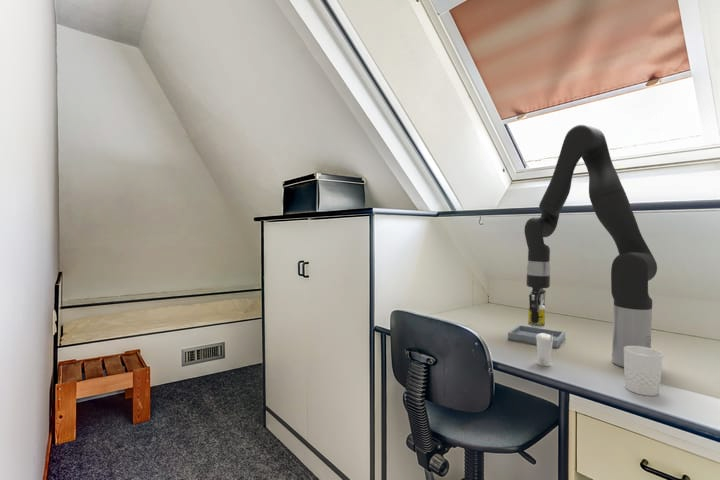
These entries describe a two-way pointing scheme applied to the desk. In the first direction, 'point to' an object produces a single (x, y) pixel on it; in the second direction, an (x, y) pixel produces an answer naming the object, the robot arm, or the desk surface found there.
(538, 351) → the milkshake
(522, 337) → the tray
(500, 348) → the desk surface
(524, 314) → the desk surface
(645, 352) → the white cup
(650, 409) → the desk surface
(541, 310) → the supplement bottle
